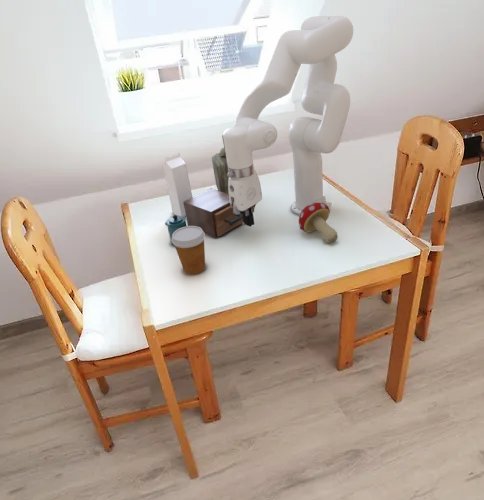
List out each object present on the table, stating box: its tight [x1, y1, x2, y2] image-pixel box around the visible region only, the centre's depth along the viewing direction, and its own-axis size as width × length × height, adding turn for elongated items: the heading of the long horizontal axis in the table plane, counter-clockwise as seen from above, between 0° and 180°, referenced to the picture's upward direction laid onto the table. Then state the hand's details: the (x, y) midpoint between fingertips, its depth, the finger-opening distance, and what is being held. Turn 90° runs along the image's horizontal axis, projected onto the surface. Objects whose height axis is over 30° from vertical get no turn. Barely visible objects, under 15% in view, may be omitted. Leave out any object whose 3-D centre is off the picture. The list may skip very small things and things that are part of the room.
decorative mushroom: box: [298, 202, 339, 244], centre depth 136 cm, size 11×11×15 cm
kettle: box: [164, 214, 188, 247], centre depth 141 cm, size 11×6×10 cm, turn 47°
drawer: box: [213, 205, 244, 237], centre depth 146 cm, size 17×11×8 cm
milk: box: [162, 152, 193, 218], centre depth 156 cm, size 6×6×22 cm
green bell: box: [211, 134, 229, 194], centre depth 160 cm, size 14×9×25 cm, turn 13°
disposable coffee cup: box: [170, 225, 206, 276], centre depth 126 cm, size 10×10×12 cm
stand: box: [183, 187, 230, 239], centre depth 149 cm, size 14×13×10 cm
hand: (249, 224), depth 139 cm, fingers closed
